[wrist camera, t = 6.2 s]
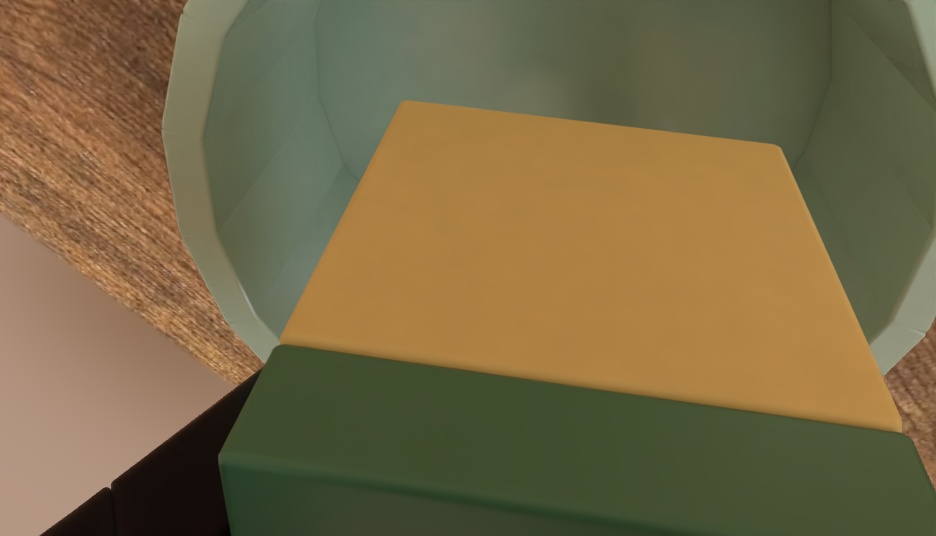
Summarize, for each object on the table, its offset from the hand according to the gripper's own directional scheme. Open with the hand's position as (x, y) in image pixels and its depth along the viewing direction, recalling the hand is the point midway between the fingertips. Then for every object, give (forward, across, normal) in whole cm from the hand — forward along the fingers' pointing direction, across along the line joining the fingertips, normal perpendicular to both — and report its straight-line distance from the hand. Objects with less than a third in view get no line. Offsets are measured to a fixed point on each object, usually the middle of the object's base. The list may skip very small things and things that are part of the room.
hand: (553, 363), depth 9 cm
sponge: (+1, 0, 0) cm, 1 cm away
